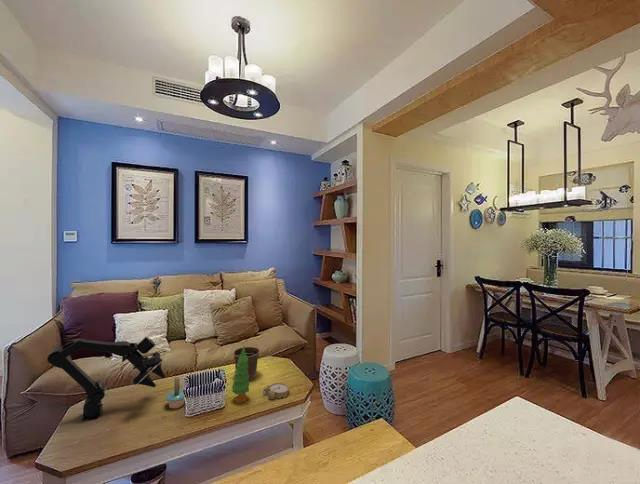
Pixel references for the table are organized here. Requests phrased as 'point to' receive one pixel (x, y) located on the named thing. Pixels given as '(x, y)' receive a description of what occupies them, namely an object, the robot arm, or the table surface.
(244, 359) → the decorative tree
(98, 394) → the robot arm
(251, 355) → the plant pot
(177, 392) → the teal stand with rod
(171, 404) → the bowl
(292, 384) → the table surface
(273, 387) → the candle holder
